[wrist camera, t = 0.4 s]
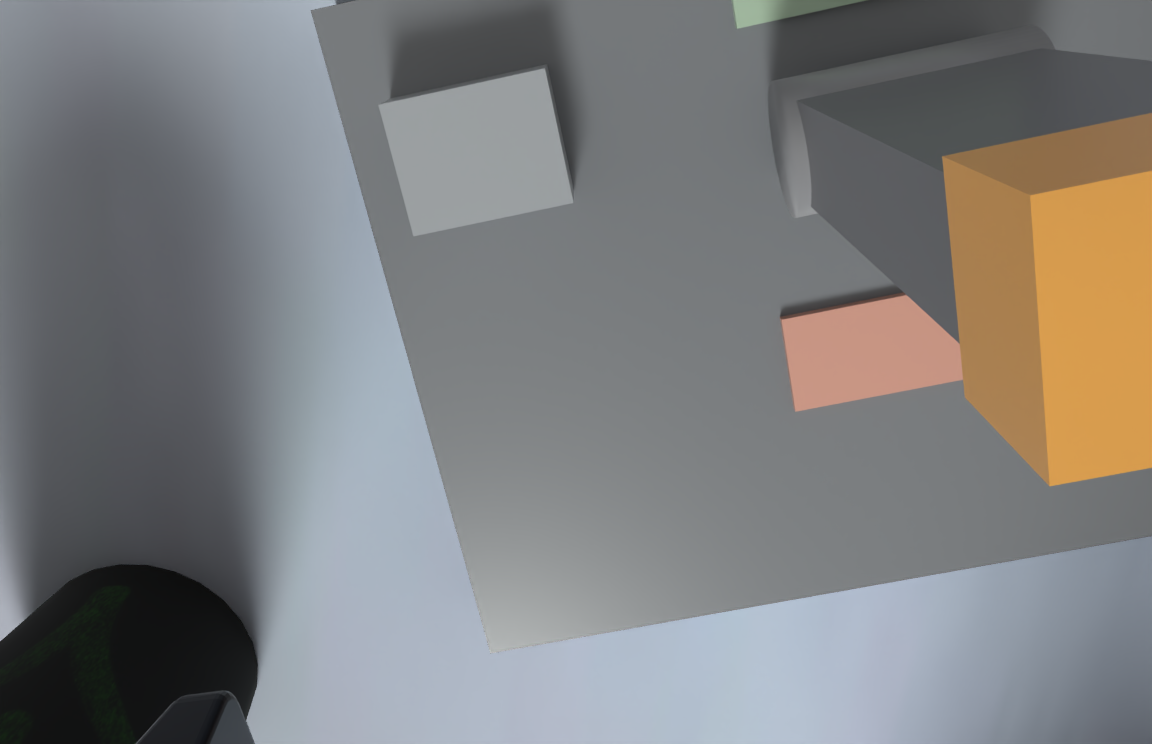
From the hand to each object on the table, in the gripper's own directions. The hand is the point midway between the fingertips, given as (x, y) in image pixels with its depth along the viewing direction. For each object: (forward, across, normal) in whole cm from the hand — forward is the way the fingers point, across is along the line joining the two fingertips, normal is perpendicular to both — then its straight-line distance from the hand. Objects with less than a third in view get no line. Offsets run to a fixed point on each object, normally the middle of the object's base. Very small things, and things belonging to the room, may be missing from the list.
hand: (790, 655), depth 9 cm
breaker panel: (+14, -5, +3) cm, 16 cm away
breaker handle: (+13, -5, 0) cm, 14 cm away
